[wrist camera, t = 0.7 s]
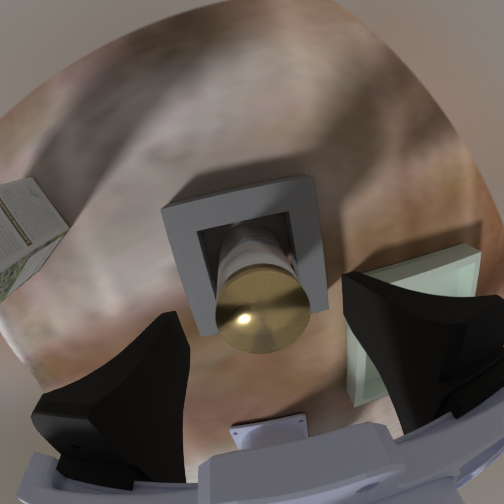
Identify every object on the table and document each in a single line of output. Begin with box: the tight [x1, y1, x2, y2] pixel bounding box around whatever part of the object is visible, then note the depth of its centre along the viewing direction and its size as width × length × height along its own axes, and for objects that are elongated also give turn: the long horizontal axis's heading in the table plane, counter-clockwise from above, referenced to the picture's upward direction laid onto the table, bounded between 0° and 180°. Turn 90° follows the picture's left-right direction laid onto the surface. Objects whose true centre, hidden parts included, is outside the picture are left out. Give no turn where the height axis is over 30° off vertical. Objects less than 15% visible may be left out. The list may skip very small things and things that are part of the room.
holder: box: [160, 174, 329, 337], centre depth 18 cm, size 9×9×2 cm
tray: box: [346, 243, 481, 408], centre depth 21 cm, size 13×13×2 cm
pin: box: [215, 224, 311, 354], centre depth 15 cm, size 4×4×8 cm
